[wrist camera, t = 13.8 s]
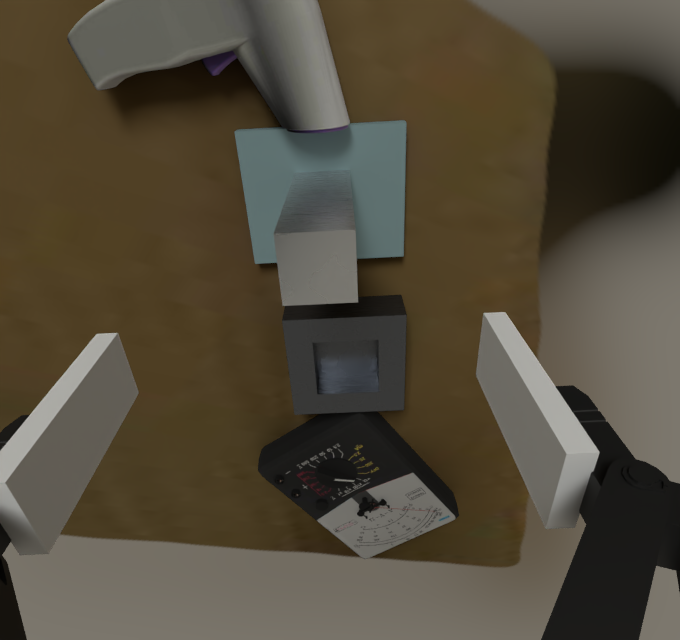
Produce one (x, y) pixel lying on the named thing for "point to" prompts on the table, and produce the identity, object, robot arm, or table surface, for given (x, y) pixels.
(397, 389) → the socket block
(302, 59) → the infrared thermometer
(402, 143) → the slate mat
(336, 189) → the long steel block
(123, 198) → the table surface
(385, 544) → the multimeter
